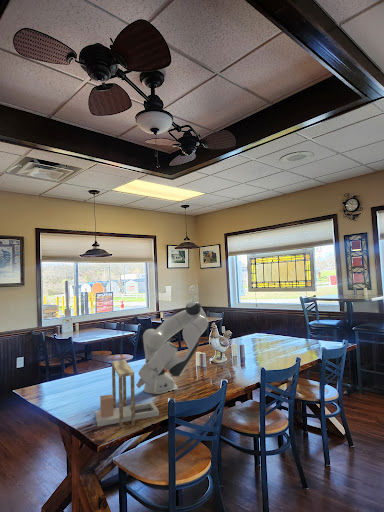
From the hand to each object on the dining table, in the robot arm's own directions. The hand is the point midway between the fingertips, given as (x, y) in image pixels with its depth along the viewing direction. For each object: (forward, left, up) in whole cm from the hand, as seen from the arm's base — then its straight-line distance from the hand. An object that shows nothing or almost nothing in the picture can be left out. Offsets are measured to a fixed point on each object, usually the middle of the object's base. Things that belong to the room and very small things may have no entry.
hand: (137, 386), depth 188 cm
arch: (+8, 0, -14) cm, 17 cm away
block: (+17, 0, -12) cm, 20 cm away
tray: (+6, 0, -14) cm, 16 cm away
